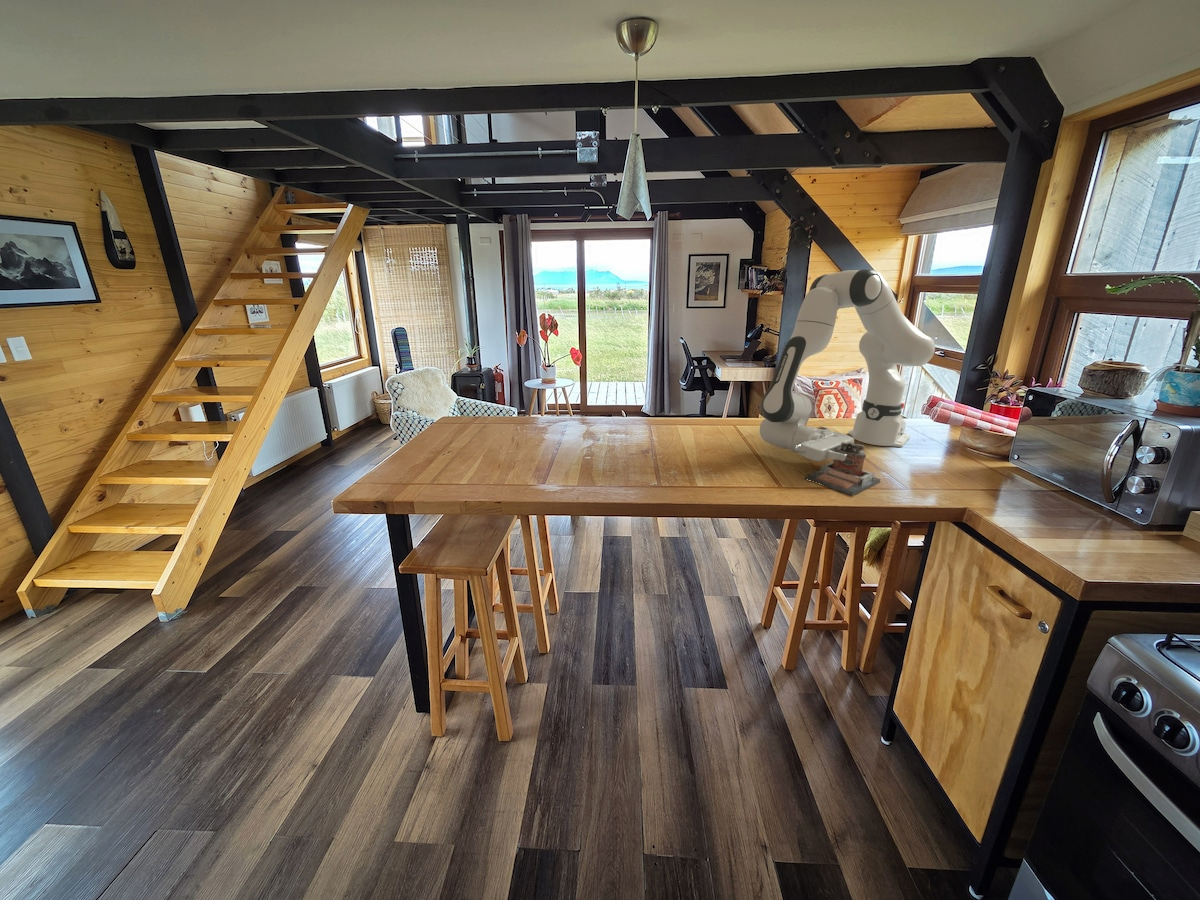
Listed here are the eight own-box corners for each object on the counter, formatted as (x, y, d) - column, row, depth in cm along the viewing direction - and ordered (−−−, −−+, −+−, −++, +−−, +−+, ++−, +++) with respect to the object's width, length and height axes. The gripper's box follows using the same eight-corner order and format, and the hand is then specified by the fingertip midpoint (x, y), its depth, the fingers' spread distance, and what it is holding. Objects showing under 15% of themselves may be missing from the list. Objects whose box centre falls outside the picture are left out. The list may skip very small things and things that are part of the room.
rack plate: (832, 467, 150) (834, 458, 149) (879, 482, 139) (882, 472, 138) (804, 479, 140) (806, 469, 139) (852, 496, 130) (855, 486, 129)
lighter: (829, 473, 142) (835, 441, 139) (832, 470, 145) (839, 438, 141) (859, 480, 137) (866, 447, 134) (862, 477, 140) (869, 444, 137)
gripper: (791, 437, 141) (837, 451, 130) (827, 426, 152) (872, 437, 142) (788, 458, 143) (833, 472, 133) (824, 444, 155) (868, 457, 144)
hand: (854, 454), depth 137 cm, fingers open, 8 cm apart
